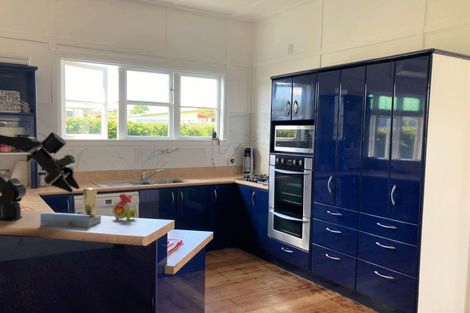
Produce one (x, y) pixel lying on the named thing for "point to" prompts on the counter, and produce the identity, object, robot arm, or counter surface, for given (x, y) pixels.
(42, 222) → the jig
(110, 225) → the counter surface
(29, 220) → the counter surface
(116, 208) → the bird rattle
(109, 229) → the counter surface
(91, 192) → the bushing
